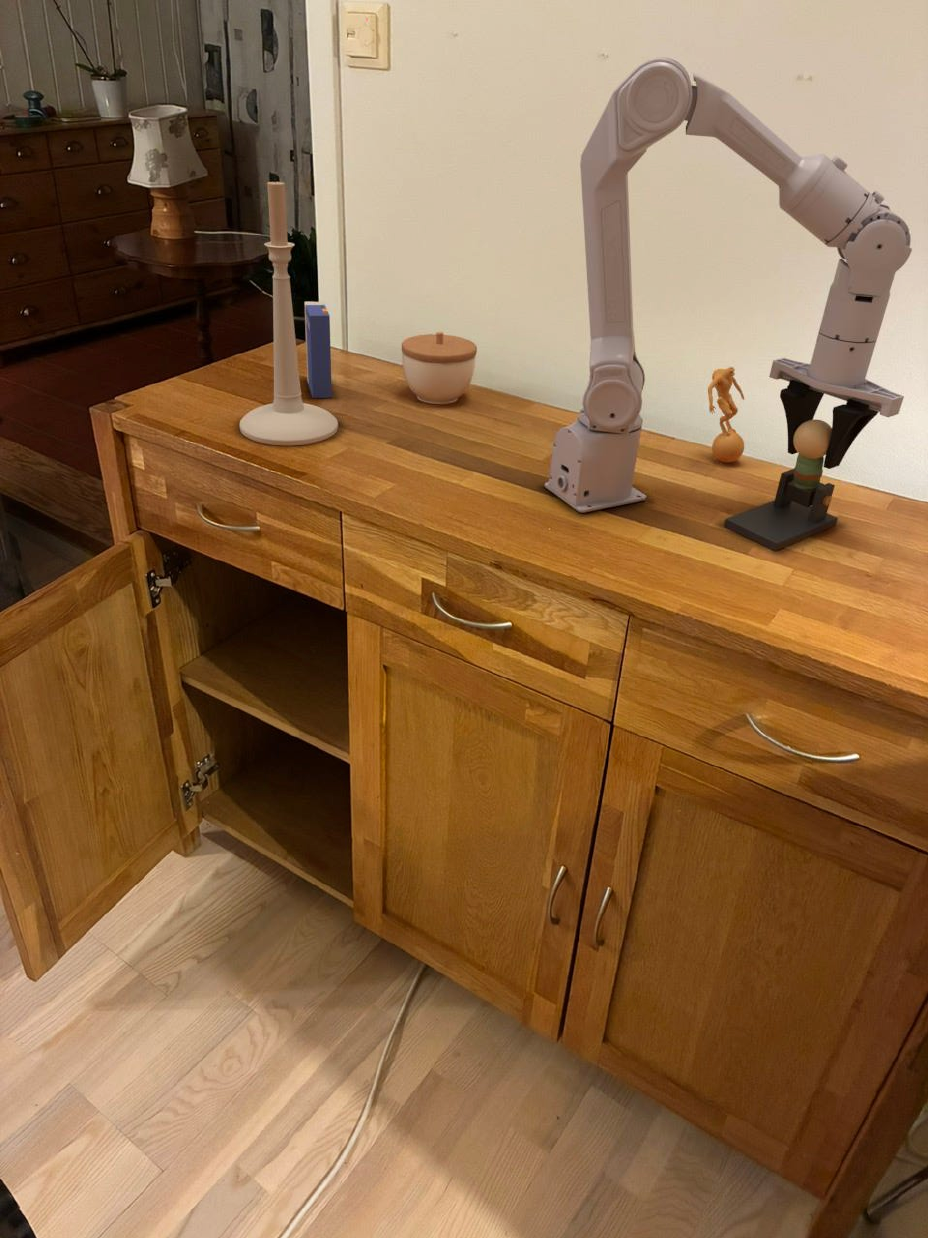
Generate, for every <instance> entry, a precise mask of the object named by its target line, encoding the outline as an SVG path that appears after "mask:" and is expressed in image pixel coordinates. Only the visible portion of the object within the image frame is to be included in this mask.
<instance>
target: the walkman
mask: <svg viewBox="0 0 928 1238" xmlns="http://www.w3.org/2000/svg"><path fill="white" fill-rule="evenodd" d="M304 325H305V326H304V327H305V329H304V330H305V332H304V333H305V348H306V349H305V355H306V376H307V378H306V379H307V384H308V388H309V390H310V394H311V397H312V399H327V398H328V399H329V398H330V399H331V398H333V397H332V395H333V392H332V355H331V353H332V351H331V349H332V348H331V318H330V314H329V311H328V309H327V306H326V305H325V303H324V301H304Z"/></svg>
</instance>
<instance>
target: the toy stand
mask: <svg viewBox="0 0 928 1238" xmlns="http://www.w3.org/2000/svg"><path fill="white" fill-rule="evenodd" d="M792 480H794V468H792V469H789V470H785V471H784V472H781V474H780V478H779V481H778V485H777V490H776V493H775V494H776V495H775V497H774V500H771V501H768V502H766V503H764V504H761V505H758V506H755V507H753V508H750V509H747V510H745V511H742V512H739V513H736V514H734V515H732V516H729V517H726V518H725V519H724V524H723V527H725V528H726V529H729V530H730V531H733V532H735V533H737V534H739V535H741V536H743V537H745V538H747V539H749V540H752V541H753V542H755V543H758V544H760V545H762V546H764V547H766V548H768V549H770V550H773V551H774V552H777V551H779V550H781V549H785V548H786V547H789V546H791V545H793V544H795V543H797V542H800V541H802V540H805V539H807V538H809V537H812V536H814V535H816V534H818V533H822V532H824V531H826V530H828V529H831V528H833V527H836V526H837V523H838V520H839V517H837V516H835V515H833V514H830V513H829V512H828V511H829V507H830V504H831V502H832V500H833V499H832V498H833V494H834V490H835V487H836V485H835V484H833V483H831V482H827V483H824V485H822V486H819V487H817V488H816V492H815V496H814V499H813V503H812V505H811V506H810V507H808V508H807V507H805V506H802V505H800V504H798V503H795V502H793V501H791V500H788V499H786V498H785V497H786V491H787V485H788V483H789V482H791V481H792Z"/></svg>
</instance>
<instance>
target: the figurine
mask: <svg viewBox="0 0 928 1238" xmlns="http://www.w3.org/2000/svg"><path fill="white" fill-rule="evenodd" d="M735 371H736V370H735V368H734V366H729V367H727V368H717V369H715V370H714V371H713V373H712V375H711V378H712V381H711V382H710V384H709V385H708V387H707V395H708V402H709V406H708V407H709V408H708V409H709V410H708V411H709V413H710V414H712V415H713V413H714V414H716V412H715V410H717V408H716V407H715V406H714V404H713V401H714V397H713V389H714V388H715V389H716V393H717V396H718V398H717V400H716V403H717V406H718V408H719V409H720V411H721V413H722V414H723V415H722V416H720V418H719V426H720V429H721V431H722V432H721V433H719V434H718V435H717V436H715V438H714V440H713V441H712V444H711V445H712V446H711V450H712V454H713V456H714V457H715V458H716V460H718V461H720V462H722V463H727V464H728V463H733V462H737V460H739V458H741V457H742V455H743V453H744V452H745V442H744V439H743V437H742V436H741V435H740V434H739V433H737V431H736V429H735V428H733V427H732V425H731V423H730V420H731V419H732V418H733V417H735V416H736V415H737V414H738V411H739V409H738V407H737V406H736V404H735V402H734V400H733V397H732V394H731V393H730V390H731V388H732V386H734V387H735V389H736V390H737V391H738V393H739V395H740V397H741V399H742V400H743V401H745V396H744V393H743V390H742V388H741V387H740V386H741V385H739V384H738V383H737V380H736V378H735V377H734V376H735V375H736V373H735ZM724 422H725V424H724Z"/></svg>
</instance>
